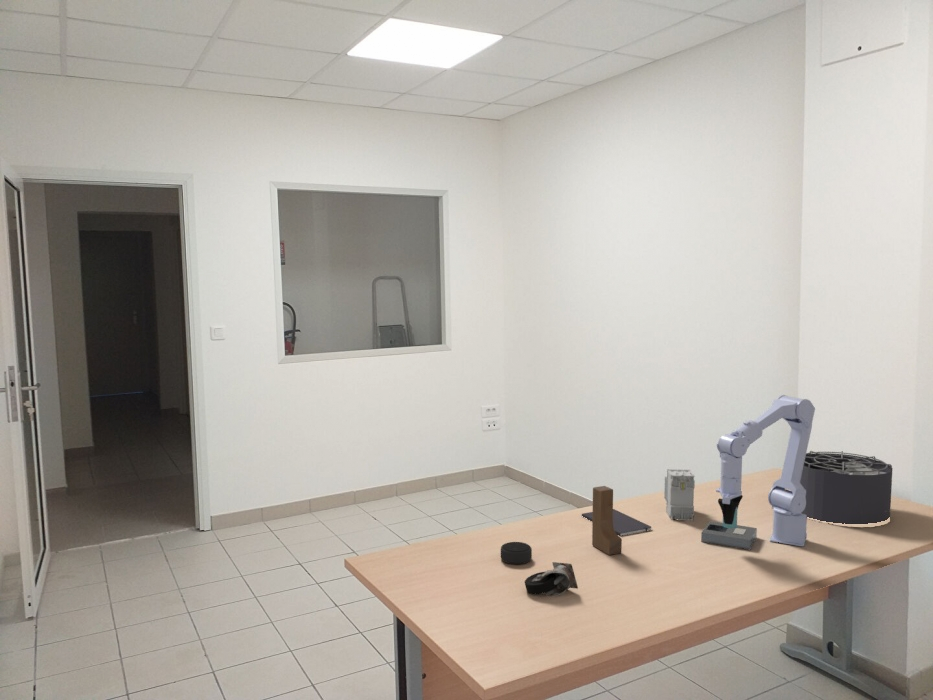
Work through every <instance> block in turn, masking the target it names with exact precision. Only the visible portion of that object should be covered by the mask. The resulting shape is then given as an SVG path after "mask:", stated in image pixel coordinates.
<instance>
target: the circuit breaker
mask: <svg viewBox="0 0 933 700" xmlns="http://www.w3.org/2000/svg"><path fill="white" fill-rule="evenodd" d="M695 477H696V476H695V474H694V473H693V472H692V470H691V469H670V468H669V469H666V476H664V497H663V498H664V499H665V502H666V503H665V504H666V511H665V512H666V514H667V516H668V519H676V520H675V521H694V516H695V506H694V504H695V503H694V499H695V498H694V497H695V495H694V493H695V491H694V490H695V483H696V482H695V481H696V480H695ZM677 519H678V520H677Z"/></svg>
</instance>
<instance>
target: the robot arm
mask: <svg viewBox="0 0 933 700" xmlns="http://www.w3.org/2000/svg"><path fill="white" fill-rule="evenodd" d="M815 410H816V408H815V406H814V403H812V401H811V400H810V399H808V398H799V397H793V396H788V395H785V394H781V395H779V396H778V397H776V399H773V400H772V404H771V406H769V408H768V409H766V410H765V411H764V412H763V413H762V414H761V415H760V416H758V417H757V418H756V419H755V420H745V421H744V422H743V424H741V425H740V426H739V427H737V428H736V429H735V430H733V431H732V432H731V433H729V434H726V433H725V434H723V435H722V436H720V438H719V439H718V442H717V443H716V448H717V451H718V453H719V458H720V486H719V487H720V488H719V487H718V488H716V489H715V491H716V493H719V494H720V496H721V498H718V500H717V503H718V505H719V507H720V509H721V514H722V520H723V519H724V523H725V524H731V525H732V523H733V520H734V514H735V510H736V508H737V507H738V508H737V511H738V510H739V505H740V503H741V500H742V499H743V497H744V496H743V491H742V474H743V473H742V472H743V471H742V470H743V469H742V468H743V456H745V455H746V453H747V450H748V449H749V447H750V446H751V444H753V443H755V442H756V441H757V440H759V439H760V438H761V437H762V436H763V431H764V430H766V429H767V428H768V427H770V426H771V425H773V424H775V423H776V422H778V421H779V420H781V419H783V420H785V422H787V424H788V426H790V428H791V429H790V434H789V437H788V438H789V439H788V443H787V448H786V453H785V457H784V461H783V465H782V466H783V467H782V471H781V476H780V478H778V479H776V480H775V481H774V482H773V483H772V487H771V489H770V490H769V492H768V494H767V501H768V503H769V505H770V506H771V509H772V510H773V514H772V515H773V517H772V518H773V519H772V534H771V535H770V538H769V541H770V542H773V543H778V542H779V544H784V545H791V546H797V547H804V546H805V543H806V540H807V536H808V533H807V523H808V519H807V515H806V514H802V513H801V512H803V510H804V509H805V506H806V498H805V496H806V490H805V489H804V487H803V486H802V485H801V483H800V480H801V475H802V470H803V466H804V461H805V457H806V453H808V446H809V441H810V437H811V433H812V427H813V420H814V415H815Z"/></svg>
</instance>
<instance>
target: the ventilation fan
mask: <svg viewBox="0 0 933 700" xmlns="http://www.w3.org/2000/svg"><path fill="white" fill-rule="evenodd" d="M800 483H801V485H802V486H803V487H804V489H805V490H806V496H805V498H806V506H805V509H804V510H803V512H801V513H802V514H806V515H807V517H809V518H813V519H817V520H820V521H826V522H833V523H842V524H844V523H845V524H868V523H877V522H881V521H885V520H887V519H888V518H889V517H890V518H891V504H892V503H891V501H892V485H893V484H892V483H893V465H892V464H891V463H886V462H885V461H884V460H881V459H878V458H876V456H874V455H873V456H867V455H863V454H857V453H850V452H843V450H842V451H841V452H840V451H813V450H810V451H809V452H806V457H805V461H804V466H803V470H802V475H801V480H800Z"/></svg>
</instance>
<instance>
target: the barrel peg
mask: <svg viewBox="0 0 933 700" xmlns="http://www.w3.org/2000/svg"><path fill="white" fill-rule="evenodd" d="M737 508H738V509H739V506H738V507H737ZM737 508H736V510H735V514H734V520H733V523H732V525H731V524H725V523H724V519H723V518H722V523H723V525H722V526H723V527H725V528H730V529H734V528H737V525H738V510H737Z"/></svg>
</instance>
